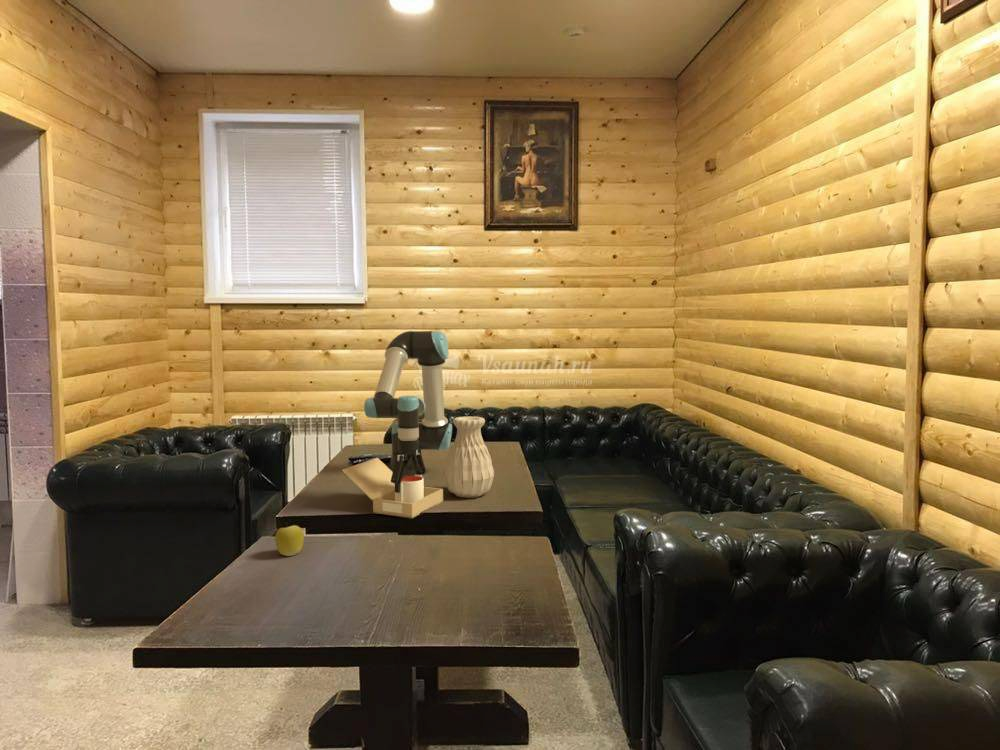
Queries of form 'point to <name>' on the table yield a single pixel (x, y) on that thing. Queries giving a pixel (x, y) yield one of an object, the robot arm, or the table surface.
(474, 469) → the vase
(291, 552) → the apple
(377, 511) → the box
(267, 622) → the table surface
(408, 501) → the cup
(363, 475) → the lid
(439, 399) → the robot arm
